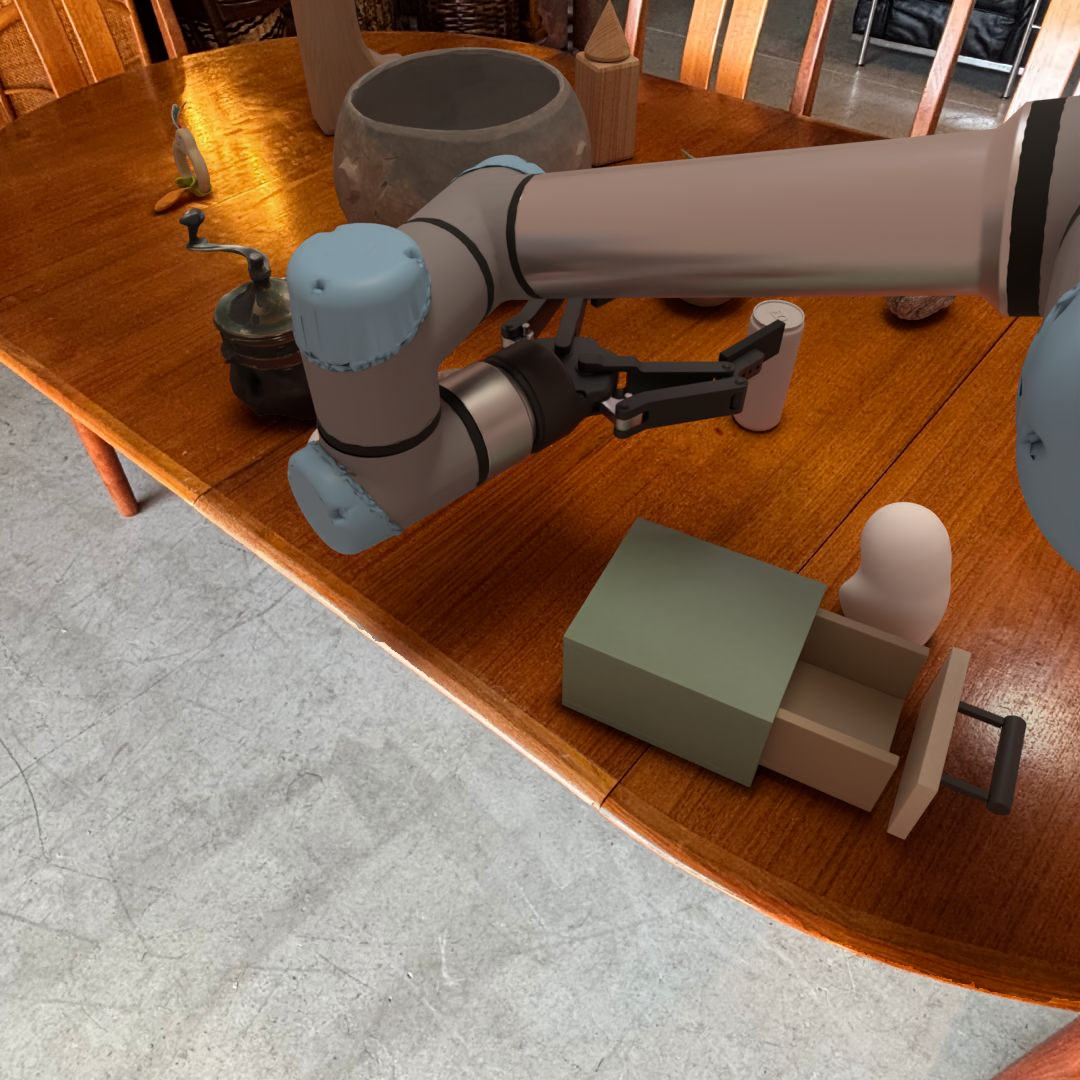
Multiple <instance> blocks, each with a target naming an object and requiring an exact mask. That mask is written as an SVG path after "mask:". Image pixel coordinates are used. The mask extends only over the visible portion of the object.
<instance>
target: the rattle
mask: <svg viewBox="0 0 1080 1080" xmlns="http://www.w3.org/2000/svg"><path fill="white" fill-rule="evenodd" d="M186 104H187V100H185V101H184V103H182V105H181V107H179V105H178V104H177V103H174V104H172V107H171V112H170V113H171V119H172V123H173V125H174V128H175V133H174V140H173V142H172V155H173V160H174V164H175V166H176V169H177V172H178V174H179V177H177V178H175V180H174V183H175V184H176V185H177V187H178V189H176V190H172V191H170V192H168V193H166V194H165V195H164V196H163V197H161V198H160V199H158V201H157V202H156V203H155V205H154V208H153V210H154V211H155V212H157V213H159V212H163V211H165V210H167V209H169V208H170V207H172V206H173V205H175V203H176V202H177V201H178V200H179V199H180V198H181V197H182V195H183V194H184V193H192V194H193V195H194V196H196V197H199V198H204V197H206V196H208V195H209V194H210V193H212V191H213V185H212V183H211V176H210V172H209V168H208V166H207V163H206V161H205V159H204V157H203V155H202V153H201V151H200V149H199V147H198V144H197V142H196V139H195V137H194V135H193V133H192V131H190V129H189V128H187V127H185V126H182V124H181V123H180V121H179V119H180V117H179V116H180V113H181V112H182V109H183V108H184V107H185V106H186ZM188 160H189V161H190V163H191V165H192V167H193V170H194V173H195V174H194V173H193V171H192V169H191V167H190V164H189V161H188Z"/></svg>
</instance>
